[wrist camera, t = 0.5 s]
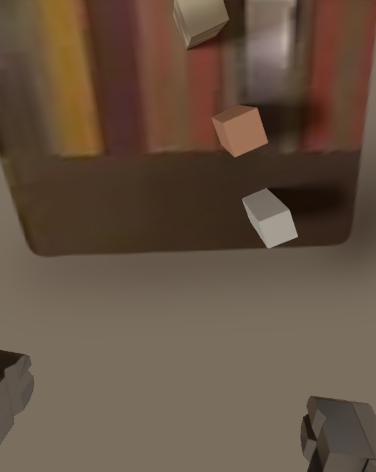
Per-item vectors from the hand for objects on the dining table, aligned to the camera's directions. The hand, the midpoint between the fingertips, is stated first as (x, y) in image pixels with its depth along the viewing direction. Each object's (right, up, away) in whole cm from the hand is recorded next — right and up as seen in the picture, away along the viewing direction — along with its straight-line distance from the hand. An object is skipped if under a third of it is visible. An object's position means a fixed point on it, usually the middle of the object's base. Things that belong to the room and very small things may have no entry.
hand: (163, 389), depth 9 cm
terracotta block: (+7, +21, +40) cm, 46 cm away
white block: (+13, +10, +46) cm, 48 cm away
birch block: (+2, +33, +35) cm, 48 cm away
